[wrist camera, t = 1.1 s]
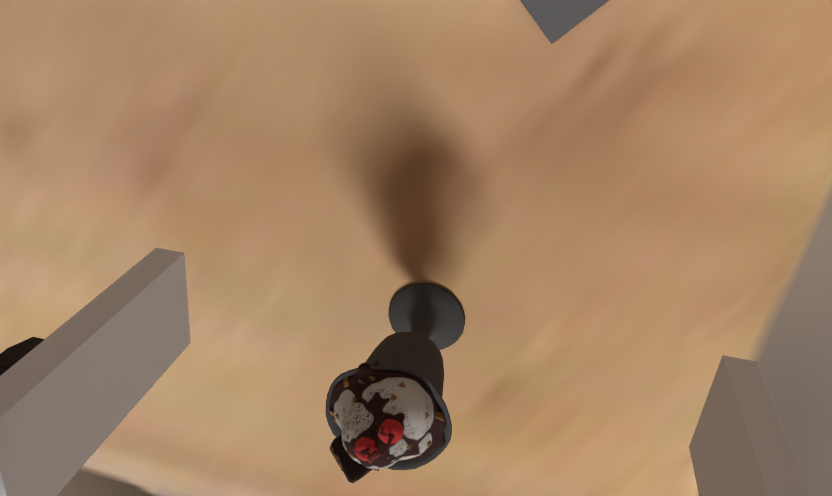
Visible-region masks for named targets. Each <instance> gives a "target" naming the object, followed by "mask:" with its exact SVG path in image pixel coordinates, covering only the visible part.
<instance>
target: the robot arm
mask: <svg viewBox="0 0 832 496" xmlns="http://www.w3.org/2000/svg"><path fill="white" fill-rule="evenodd" d="M189 344H190V329H189V314H188V299H187V284H186V270H185V255H184V253H181V252H176V251H171V250H166V249H160V248H155V249H154V250H153V251H152V252H151V253H149V254H148V255H147V256H146V257H145V258H143V259H142V260H141V261H140V262H138V263H137V264H136V265H135V266H134V267H132V268H131V269H130V270H129V271H127V272H126V273H125V274H124V275H123V276H121V277H120V278H119V279H118V280H117V281H115V282H114V283H113V284H112V285H110V286H109V287H108V288H107V289H106V290H104V291H103V292H102V293H101V294H99V295H98V296H97V297H96V298H95V299H93V300H92V301H91V302H90V303H89V304H87V305H86V306H85V307H84V308H82V309H81V310H80V311H79V312H78V313H76V314H75V315H74V316H73V317H71V318H70V319H69V320H68V321H67V322H65V323H64V324H63V325H62V326H61V327H59V328H58V329H57V330H56V331H54V332H53V333H52V334H51V335H50V336H48V337H47V338H46V339H41V338H36V337H32V338H29V339H27V340H25V341H23V342H21V343H18V344H16V345H14V346H12V347H9V348H7V349H6V350H5V351H4V352H2V353H1V354H0V496H56V495H57V494H58V493H59V492H60V491H61V490H62V489H63V487H64V486H65V485H66V484H67V483H68V482H69V481H70V479H71V478H72V477H73V476H74V475H75V474H76V473H77V471H78V470H79V469H80V468H81V467H82V466H83V465H84V463H85V462H86V461H87V460H88V459H89V458H90V457H91V455H92V454H93V453H94V452H95V451H96V450H97V449H98V447H99V446H100V445H101V444H102V443H103V442H104V441H105V440H106V438H107V437H108V436H109V435H110V434H111V433H112V432H113V430H114V429H115V428H116V427H117V426H118V425H119V424H120V422H121V421H122V420H123V419H124V418H125V417H126V416H127V414H128V413H129V412H130V411H131V410H132V409H133V408H134V406H135V405H136V404H137V403H138V402H139V401H140V400H141V398H142V397H143V396H144V395H145V394H146V393H147V392H148V390H149V389H150V388H151V387H152V386H153V385H154V384H155V382H156V381H157V380H158V379H159V378H160V377H161V376H162V374H163V373H164V372H165V371H166V370H167V369H168V368H169V366H170V365H171V364H172V363H173V362H174V361H175V360H176V359H177V357H178V356H179V355H180V354H181V353H182V352H183V351H184V349H185V348H186V347H187V346H188V345H189ZM689 449H690V454H691V458H692V463H693V468H694V473H695V477H696V482H697V487H698V492H699V496H811V495H810V492H809V490H808V487H807V484H806V482H805V479H804V477H803V474H802V472H801V469H800V467H799V464H798V462H797V459H796V457H795V454H794V452H793V449H792V447H791V444H790V442H789V439H788V437H787V434H786V432H785V429H784V426H783V424H782V421H781V419H780V417H779V414H778V412H777V409H776V406H775V404H774V401H773V399H772V397H771V394H770V391H769V389H768V386H767V384H766V381H765V379H764V376H763V374H762V371H761V369H760V366H759V364H758V362H755V361H750V360H745V359H739V358H734V357H729V356H722V358H721V361H720V364H719V367H718V369H717V372H716V375H715V377H714V380H713V383H712V386H711V388H710V391H709V394H708V396H707V399H706V402H705V405H704V407H703V410H702V413H701V416H700V418H699V421H698V424H697V426H696V429H695V432H694V435H693V437H692V440H691V443H690V445H689Z"/></svg>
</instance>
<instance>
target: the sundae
mask: <svg viewBox="0 0 832 496" xmlns="http://www.w3.org/2000/svg"><path fill="white" fill-rule="evenodd" d="M389 319H390V323H391V325H392V328H393V330H394V331H395V332H396V333H394V334H392V335H390V336H388V337H386V338H385V339H384V340H383V341H382V342H381V343H380V344H379V345H378V346H377V347H376V348H375V350H374V351H373V352H372V354H371V355H370V357H369V358H368V359H367V361H366V362H365V363H362V364H361V365H359V367H358V368H356V369H352V370H349V371H347V372H344V373H342V374H340V375H339V376H338V377H337V378H336V379H335V380H334V382H333V383H332V385H331V387H330V389H329V392H328V394H327V400H326V417H327V421H328V424H329V426H330V429H331V431H332V433H333V434H334V435H335V436H336V438H335V439H334V440H333V442H332V444H331V446H330V451H331V452H332V454H333V456H334V458H335V460H336V462H337V463H338V465H339V467H340V468H341V470H342V471H343V472H344V474H345V476H346V478H347V479H348V481H349V482H351V483H355V482H356V481H358V480H359V479H360V478H362V477H363V476H365V475H366V474H367V473H369V472H370V471H371V470H372V469H374V470H376V471H379V470H380V469H385V468H389V469H392V470H409V469H416V468H418V467H420V466H423V465H425V464H427V463H429V462H430V461H432V460H434V459H435V458H436V457H437V456H438V455H439V454H440V453H442V451H443V450H444V449H445V448H446V447H447V445H448V443H449V442H450V439H451V434H452V424H451V420H450V416H449V413H448V410H447V407H446V404H445V402H444V400H443V399H442V392H443V382H444V368H443V359H442V355H441V353H440V351H439V350H440V349H444V348H446V347H449V346H450V345H452V344H454V343H455V342H456V341H457V340H458V339H459V337H460V336H461V334H462V333H463V329H464V325H465V317H464V313H463V310H462V307H461V305H460V304H459V302H458V301H457V300H456V299H455V297H454V296H453V295H452V294H450V293H449V292H447V291H446V290H444V289H442V288H440V287H438V286H434V285H430V284H415V285H410V286H407V287H405V288H403V289H402V290H400V291H399V292H397V294H396V295H395V296H394V298H393V299H392V301H391V303H390V307H389Z"/></svg>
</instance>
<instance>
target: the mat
mask: <svg viewBox="0 0 832 496" xmlns="http://www.w3.org/2000/svg"><path fill="white" fill-rule="evenodd" d="M520 1H521V2H522V4H523V5H524V6H525V8H526V9H527V11H528V12H529V13H530V15H531V16H532V17H533V19H534V20H535V22H536V23H537V24H538V26H539V27H540V28H541V30H542V31H543V33H544V34H545V35H546V37H547V38H548V39H549V41H550V42H551V44H553V43H554V42H555V41H556V40H558V39H559V38H560V37H562V36H563V35H564V34H566V33H567V32H568V31H570V30H571V29H572V28H574V27H575V26H576V25H577V24H579V23H580V22H581V21H583V20H584V19H585V18H587V17H588V16H589V15H591V14H592V13H593V12H594V11H596V10H597V9H598V8H600V7H601V6H602V5H604V4H605V3H606V2H608V1H609V0H520Z"/></svg>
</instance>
